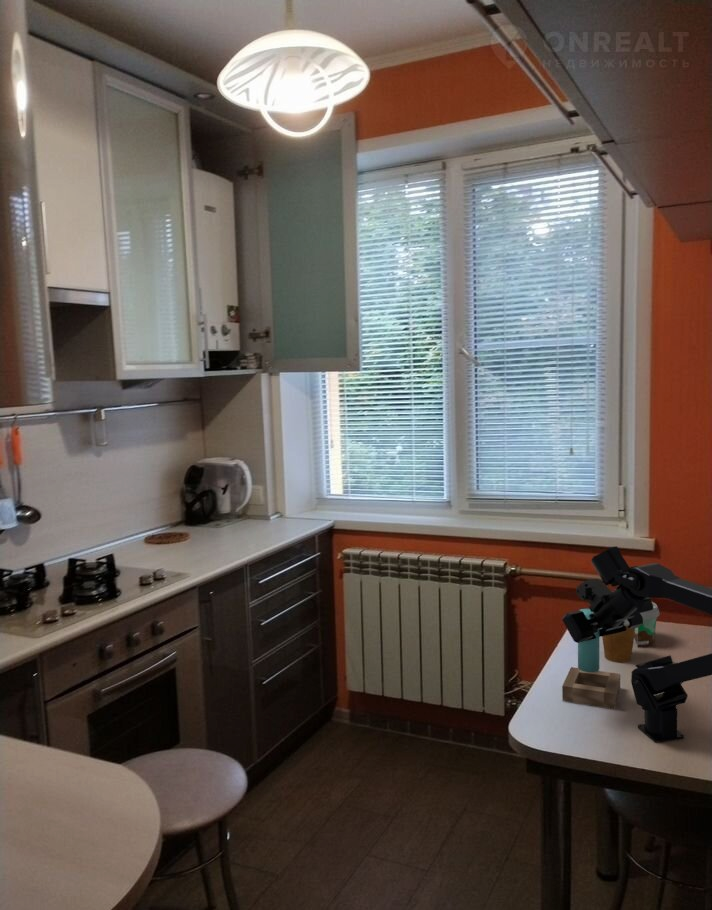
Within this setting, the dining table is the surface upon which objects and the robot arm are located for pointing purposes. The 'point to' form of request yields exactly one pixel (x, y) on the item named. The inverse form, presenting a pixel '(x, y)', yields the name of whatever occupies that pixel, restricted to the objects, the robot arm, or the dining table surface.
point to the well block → (591, 688)
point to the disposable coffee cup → (619, 645)
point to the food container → (647, 628)
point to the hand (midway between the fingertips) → (584, 637)
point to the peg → (589, 651)
